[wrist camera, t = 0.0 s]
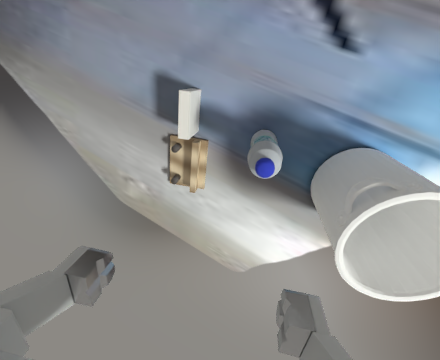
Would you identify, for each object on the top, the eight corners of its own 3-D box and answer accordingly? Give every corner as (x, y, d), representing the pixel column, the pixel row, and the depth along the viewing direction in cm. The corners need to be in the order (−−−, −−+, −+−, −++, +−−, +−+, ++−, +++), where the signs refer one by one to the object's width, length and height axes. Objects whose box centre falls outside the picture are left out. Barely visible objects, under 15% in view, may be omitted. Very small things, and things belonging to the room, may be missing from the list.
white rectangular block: (191, 88, 53) (179, 90, 45) (201, 89, 52) (190, 91, 44) (189, 129, 57) (177, 138, 49) (198, 131, 57) (188, 139, 49)
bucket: (419, 200, 55) (526, 282, 33) (336, 237, 63) (377, 322, 41) (371, 117, 49) (461, 150, 27) (286, 170, 57) (302, 228, 35)
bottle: (245, 145, 56) (238, 177, 38) (258, 122, 53) (258, 144, 35) (268, 158, 57) (272, 195, 39) (282, 135, 54) (294, 164, 36)
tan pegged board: (171, 134, 58) (165, 138, 55) (208, 140, 57) (204, 144, 54) (171, 181, 64) (165, 187, 61) (204, 187, 63) (201, 194, 60)
